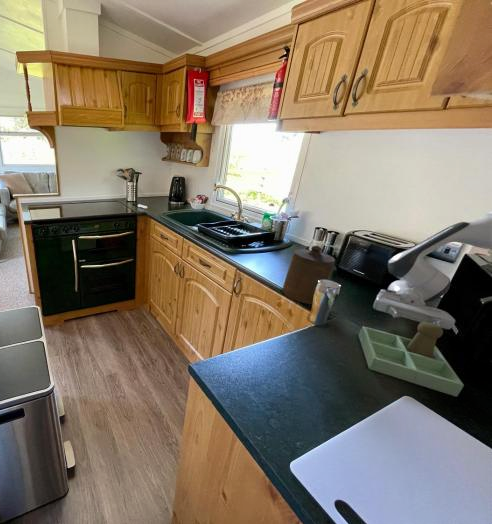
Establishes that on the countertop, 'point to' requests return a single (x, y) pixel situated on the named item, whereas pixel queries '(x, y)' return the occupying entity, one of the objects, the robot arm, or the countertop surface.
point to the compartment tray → (408, 362)
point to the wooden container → (306, 273)
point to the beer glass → (323, 301)
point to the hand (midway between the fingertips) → (415, 321)
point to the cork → (425, 339)
